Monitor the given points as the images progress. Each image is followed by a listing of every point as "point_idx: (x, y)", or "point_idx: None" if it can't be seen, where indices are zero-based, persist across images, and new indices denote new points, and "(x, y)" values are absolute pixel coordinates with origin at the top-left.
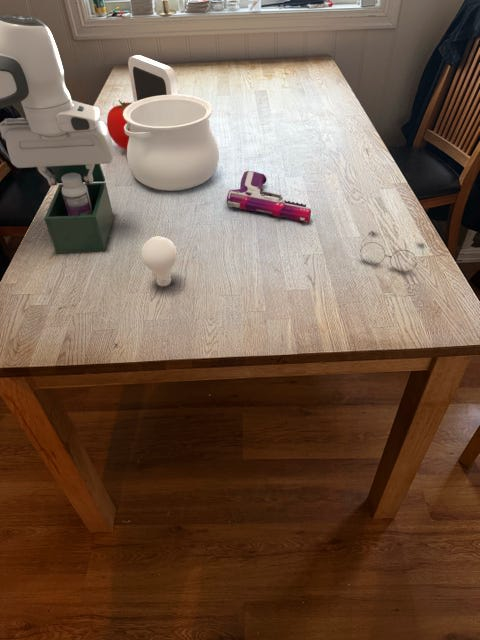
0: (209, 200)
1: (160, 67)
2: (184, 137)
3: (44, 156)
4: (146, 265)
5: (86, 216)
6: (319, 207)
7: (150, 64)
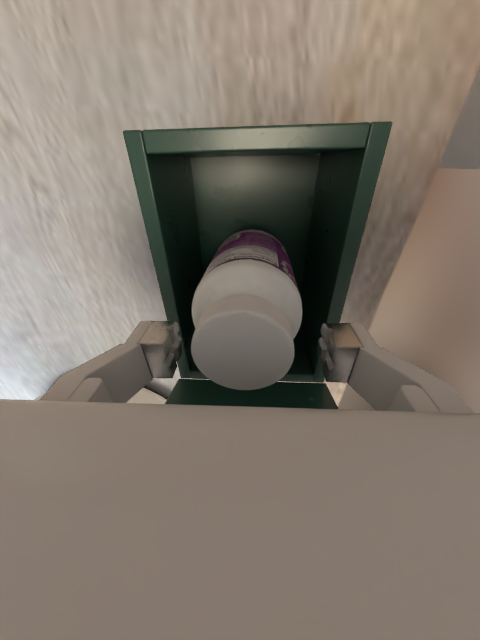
0: (22, 346)
1: None
2: None
3: (463, 541)
4: None
5: (167, 132)
6: None
7: None
